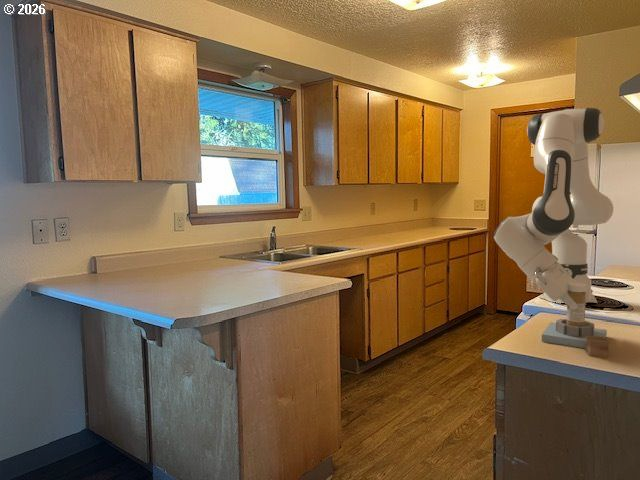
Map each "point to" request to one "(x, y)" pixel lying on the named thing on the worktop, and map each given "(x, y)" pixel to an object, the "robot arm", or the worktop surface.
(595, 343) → the walnut block
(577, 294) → the sprinkles bottle
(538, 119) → the robot arm
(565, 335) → the hub board
